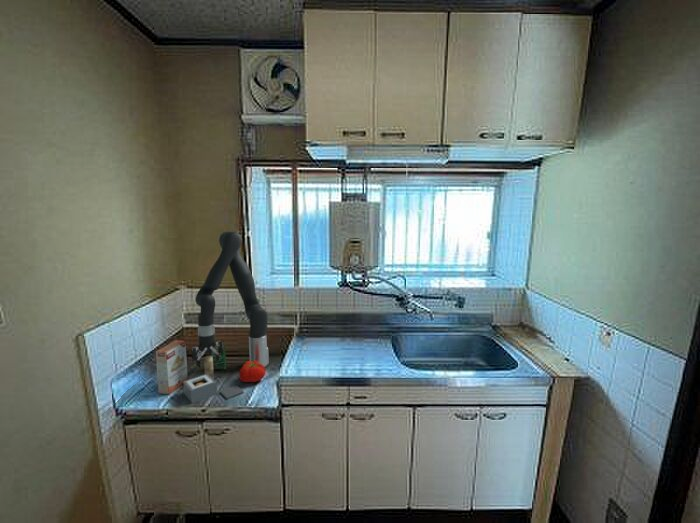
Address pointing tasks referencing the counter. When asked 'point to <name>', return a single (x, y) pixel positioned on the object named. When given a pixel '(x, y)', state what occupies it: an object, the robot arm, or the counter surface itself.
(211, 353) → the coffee box
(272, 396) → the counter surface
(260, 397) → the counter surface
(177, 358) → the cracker box
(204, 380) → the box
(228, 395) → the mat
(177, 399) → the counter surface
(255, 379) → the tomato
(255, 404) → the counter surface
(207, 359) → the beige ridged cylinder
